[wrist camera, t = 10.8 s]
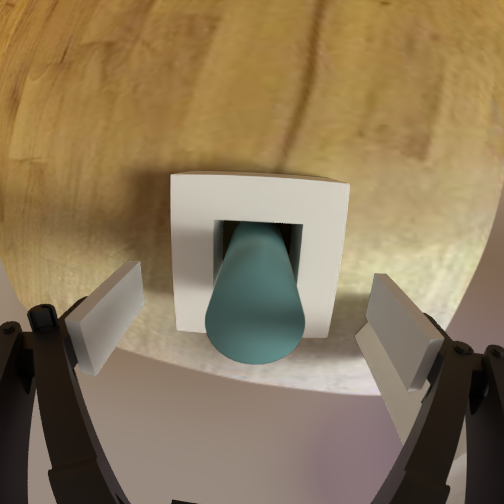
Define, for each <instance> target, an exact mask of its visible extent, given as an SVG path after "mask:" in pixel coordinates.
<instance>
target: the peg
mask: <svg viewBox="0 0 504 504" xmlns="http://www.w3.org/2000/svg"><path fill="white" fill-rule="evenodd" d="M205 329H206V333H207V335H208V338H209V340H210V341H211V343H212V344H213V346H214V347H215V348H216V349H217V350H218V351H219V352H220V353H222V354H223V355H224V356H226V357H228V358H230V359H232V360H234V361H237V362H240V363H245V364H266V363H271V362H274V361H277V360H279V359H281V358H283V357H285V356H286V355H288V354H289V353H290V352H291V351H292V350H293V349H294V348H295V347H296V346H297V345H298V344H299V342H300V340H301V338H302V336H303V334H304V329H305V315H304V311H303V307H302V304H301V300H300V297H299V293H298V289H297V286H296V282H295V278H294V275H293V271H292V268H291V264H290V261H289V257H288V254H287V250H286V247H285V244H284V240H283V237H282V233H281V231H280V229H279V227H278V226H277V225H276V224H275V223H274V222H255V221H241V222H240V223H239V224H238V225H237V227H236V228H235V230H234V232H233V235H232V238H231V241H230V243H229V246H228V249H227V252H226V255H225V258H224V261H223V264H222V266H221V269H220V272H219V275H218V278H217V281H216V284H215V287H214V290H213V293H212V296H211V299H210V302H209V305H208V308H207V311H206V315H205Z"/></svg>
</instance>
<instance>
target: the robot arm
mask: <svg viewBox="0 0 504 504" xmlns="http://www.w3.org/2000/svg"><path fill="white" fill-rule="evenodd" d="M144 305H145V301H144V293H143V284H142V275H141V264H140V261H131V260H128V261H127V262H126V263H125V264H123V265H122V266H121V267H120V268H119V269H118V270H117V271H116V272H114V273H113V274H112V275H111V276H110V277H109V278H108V279H107V280H105V281H104V282H103V283H102V284H101V285H100V286H99V287H98V288H97V289H96V290H95V291H93V292H92V293H91V294H90V295H89V296H85V297H83V298H81V299H80V300H78V301H77V302H76V303H74V304H73V305H72V306H71V307H70V308H69V309H68V311H66V312H65V313H64V314H63V315H62V316H61V317H60V318H59V319H58V318H57V314H56V310H55V308H54V306H53V305H51V304H40V305H37V306H35V307H33V308H31V309H30V310H29V311H28V313H27V316H28V319H29V322H30V326H31V328H32V332H22V329H21V326H20V324H19V323H18V322H14V321H11V322H6V323H3V324H2V325H1V326H0V504H28V486H27V483H28V482H27V480H28V451H29V438H30V428H31V419H32V411H33V404H34V398H35V392H36V388H37V396H38V403H39V410H40V416H41V420H42V426H43V431H44V436H45V440H46V445H47V449H48V453H49V457H50V461H51V464H52V469H51V470H48V476H49V481H50V484H51V488H52V491H53V494H54V496H55V499H56V502H57V504H131V503H130V502H129V501H128V499H127V497H126V496H125V494H124V492H123V490H122V488H121V486H120V485H119V483H118V481H117V479H116V477H115V475H114V473H113V471H112V469H111V466H110V464H109V462H108V460H107V458H106V456H105V453H104V451H103V449H102V446H101V444H100V442H99V439H98V437H97V435H96V432H95V429H94V427H93V424H92V421H91V419H90V416H89V413H88V410H87V408H86V405H85V402H84V399H83V395H82V393H81V389H80V386H79V383H78V379H77V376H76V373H75V370H74V367H75V366H76V364H77V363H78V364H79V367H80V370H81V372H82V373H84V374H88V375H92V376H97V374H98V372H99V371H100V370H101V368H102V366H103V365H104V363H105V362H106V360H107V359H108V357H109V356H110V354H111V353H112V351H113V350H114V348H115V347H116V345H117V344H118V342H119V341H120V340H121V338H122V337H123V335H124V334H125V332H126V331H127V329H128V328H129V326H130V325H131V324H132V322H133V321H134V319H135V318H136V316H137V315H138V314H139V312H140V311H141V309H142V308H143V307H144ZM365 316H366V318H367V320H368V322H369V323H370V325H371V327H372V328H373V330H374V332H375V334H376V335H377V337H378V339H379V341H380V342H381V344H382V346H383V348H384V349H385V351H386V353H387V355H388V357H389V358H390V360H391V362H392V364H393V366H394V368H395V369H396V371H397V373H398V375H399V377H400V379H401V381H402V382H403V384H404V386H405V388H406V390H407V392H409V391H415V390H421V389H422V387H423V385H424V383H425V381H426V379H427V380H428V382H429V383H430V386H429V388H428V390H427V392H426V394H425V396H424V398H423V399H422V401H421V403H422V405H421V408H420V410H419V413H418V415H417V418H416V420H415V422H414V425H413V427H412V429H411V431H410V433H409V436H408V438H407V440H406V442H405V444H404V446H403V448H402V450H401V452H400V454H399V456H398V458H397V460H396V462H395V464H394V466H393V467H392V470H391V471H390V473H389V475H388V476H387V478H386V480H385V482H384V483H383V485H382V486H381V488H380V490H379V491H378V493H377V495H376V496H375V498H374V499H373V501H372V502H371V504H446V501H447V499H448V496H449V493H450V486H449V485H446V481H447V478H448V475H449V472H450V469H451V466H452V463H453V460H454V457H455V453H456V450H457V446H458V443H459V439H460V435H461V431H462V427H463V422H464V418H465V422H466V443H467V470H466V491H465V503H464V504H504V348H503V347H501V346H499V345H498V346H497V345H489V346H488V347H487V348H486V350H485V352H484V354H477V353H474V351H473V349H472V348H471V347H470V346H469V345H468V344H466V343H463V342H460V341H452V339H450V337H449V336H448V335H447V334H446V332H445V331H444V330H443V329H441V327H440V326H439V324H437V322H436V321H435V320H434V319H433V318H432V317H431V316H429V315H427V314H426V313H422V312H421V310H420V309H419V308H418V307H417V306H416V305H415V304H414V303H413V302H412V300H411V299H410V298H409V297H408V296H407V295H406V294H405V293H404V292H403V291H402V290H401V289H400V288H399V286H398V285H397V284H396V283H395V282H394V281H393V280H392V279H391V278H390V277H389V276H388V275H387V274H379V273H375V274H374V279H373V284H372V288H371V293H370V297H369V302H368V306H367V310H366V314H365ZM171 504H196V503H189V502H184V501H178V500H172V503H171Z"/></svg>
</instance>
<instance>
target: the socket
mask: <svg viewBox="0 0 504 504" xmlns="http://www.w3.org/2000/svg"><path fill="white" fill-rule="evenodd" d="M349 191H350V184H349V183H345V182H342V181H338V180H335V179H331V178H324V177H313V176H301V175H288V174H273V173H254V172H229V171H187V172H181V173H176V174H171V247H172V270H173V287H174V302H175V315H176V326H177V330H178V331H188V332H199V333H206V329H205V315H206V311H207V308H208V305H209V302H210V299H211V296H212V293H213V290H214V287H215V284H216V281H217V278H218V275H219V272H220V269H221V266H222V264H223V224H224V220H235V221H255V222H274V223H291V224H292V231H291V243H290V254H289V261H290V264H291V268H292V271H293V275H294V278H295V282H296V286H297V289H298V293H299V297H300V300H301V304H302V307H303V311H304V315H305V329H304V334H303V336H302V338H327V337H328V332H329V327H330V322H331V317H332V312H333V306H334V301H335V295H336V290H337V284H338V277H339V271H340V265H341V258H342V251H343V244H344V236H345V228H346V219H347V211H348V201H349Z"/></svg>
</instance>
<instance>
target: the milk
mask: <svg viewBox="0 0 504 504" xmlns="http://www.w3.org/2000/svg"><path fill="white" fill-rule="evenodd" d="M355 339H356V341H357V343H358V345H359V347H360V349H361V351H362V353H363V356H364V358H365V360H366V362H367V364H368V366H369V368H370V371H371V373H372V375H373V377H374V379H375V382H376V384H377V386H378V388H379V391H380V393H381V395H382V397H383V400H384V402H385V404H386V406H387V409H388V411H389V413H390V416H391V418H392V420H393V423H394V425H395V427H396V430H397V433H398V435H399V437H400V440H401V442H402V445H403V446H404V444H405V442H406V440H407V438H408V436H409V433H410V431H411V429H412V427H413V425H414V422H415V420H416V418H417V415H418V413H419V410H420V408H421V405H422V403H421V401H422V399H423V398H424V396H425V394H426V392H427V390H428V388H429V386H430V383H429V382H428V380H427V379H426V381H425V383H424V385H423V387H422V389H421V390H415V391H409V392H407V390H406V388H405V386H404V384H403V382H402V381H401V379H400V377H399V375H398V373H397V371H396V369H395V368H394V366H393V364H392V362H391V360H390V358H389V357H388V355H387V353H386V351H385V349H384V348H383V346H382V344H381V342H380V341H379V339H378V337H377V335H376V334H375V332H374V330H373V328H372V327H371V325H370V323H369V322H367V323H366V324H365V325H364V326H363V327H362V329H361V330H360V331H359V332H358V333H357V334H356V335H355ZM466 470H467V443H466V422H465V418H464V422H463V427H462V431H461V435H460V439H459V443H458V446H457V450H456V453H455V457H454V460H453V463H452V466H451V469H450V472H449V475H448V478H447V481H446V485H449V486H450V493H449V496H448V499H447V501H446V504H464V503H465V491H466Z"/></svg>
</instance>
